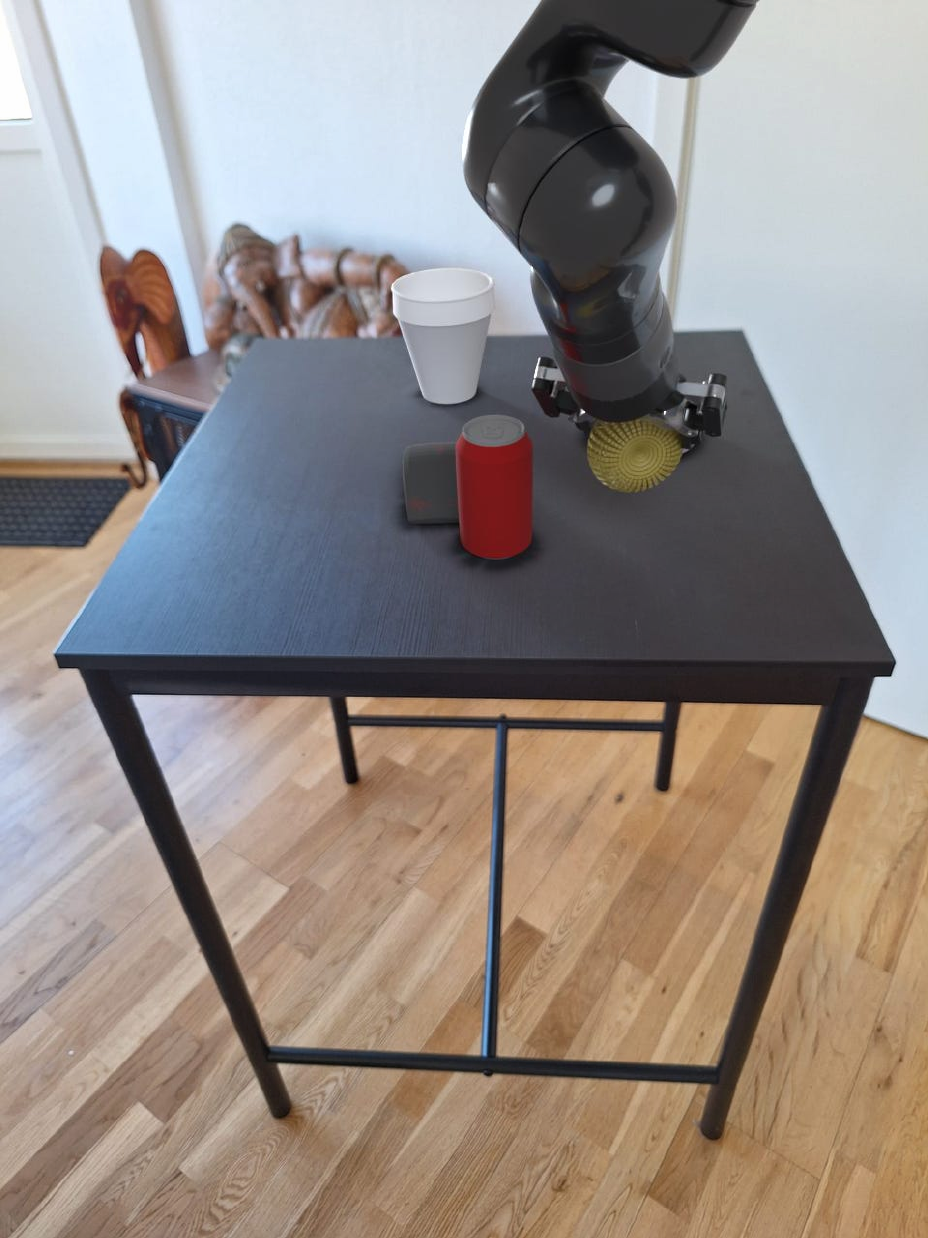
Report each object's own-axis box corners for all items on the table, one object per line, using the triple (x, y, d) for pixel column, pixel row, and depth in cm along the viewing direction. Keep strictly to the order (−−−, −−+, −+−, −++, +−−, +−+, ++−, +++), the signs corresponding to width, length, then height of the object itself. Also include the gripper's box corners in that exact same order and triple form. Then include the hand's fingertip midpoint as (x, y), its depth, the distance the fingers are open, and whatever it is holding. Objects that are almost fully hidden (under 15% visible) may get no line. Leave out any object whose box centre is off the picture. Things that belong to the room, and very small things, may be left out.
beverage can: (533, 526, 82) (534, 411, 74) (530, 566, 76) (531, 446, 69) (464, 525, 82) (458, 410, 75) (457, 565, 77) (449, 445, 70)
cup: (493, 413, 102) (490, 299, 93) (393, 413, 103) (381, 300, 95) (501, 373, 111) (499, 266, 103) (409, 373, 113) (400, 267, 104)
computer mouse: (481, 458, 93) (480, 424, 91) (481, 523, 82) (480, 488, 80) (409, 460, 93) (406, 427, 91) (399, 526, 83) (396, 490, 80)
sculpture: (670, 473, 73) (680, 385, 68) (685, 495, 70) (696, 405, 65) (580, 482, 73) (583, 394, 68) (591, 505, 70) (595, 415, 65)
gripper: (740, 295, 52) (738, 398, 67) (521, 280, 57) (566, 379, 72) (715, 411, 51) (719, 487, 67) (496, 386, 56) (547, 463, 72)
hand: (640, 431), depth 69 cm, fingers closed on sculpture, 7 cm apart
